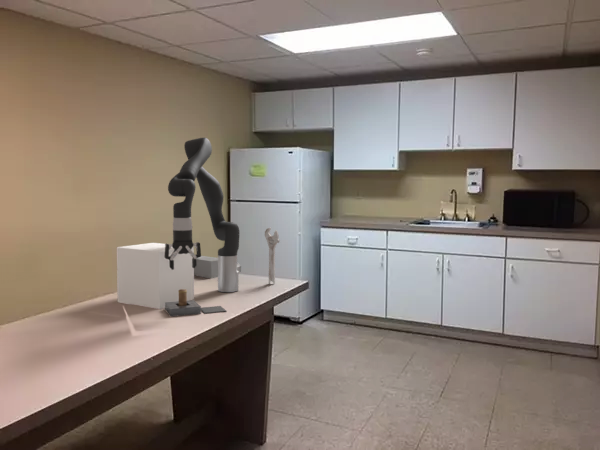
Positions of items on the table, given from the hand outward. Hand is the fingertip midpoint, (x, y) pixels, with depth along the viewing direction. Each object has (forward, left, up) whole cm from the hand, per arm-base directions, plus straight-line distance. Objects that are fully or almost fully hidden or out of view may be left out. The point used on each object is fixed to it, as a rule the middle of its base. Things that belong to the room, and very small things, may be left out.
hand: (183, 268), depth 212 cm
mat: (-12, +2, -18) cm, 21 cm away
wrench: (-53, -36, -18) cm, 66 cm away
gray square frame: (0, 0, -18) cm, 18 cm away
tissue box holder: (-32, -77, -18) cm, 85 cm away
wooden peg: (0, 0, -18) cm, 18 cm away
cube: (+7, -24, -18) cm, 31 cm away
